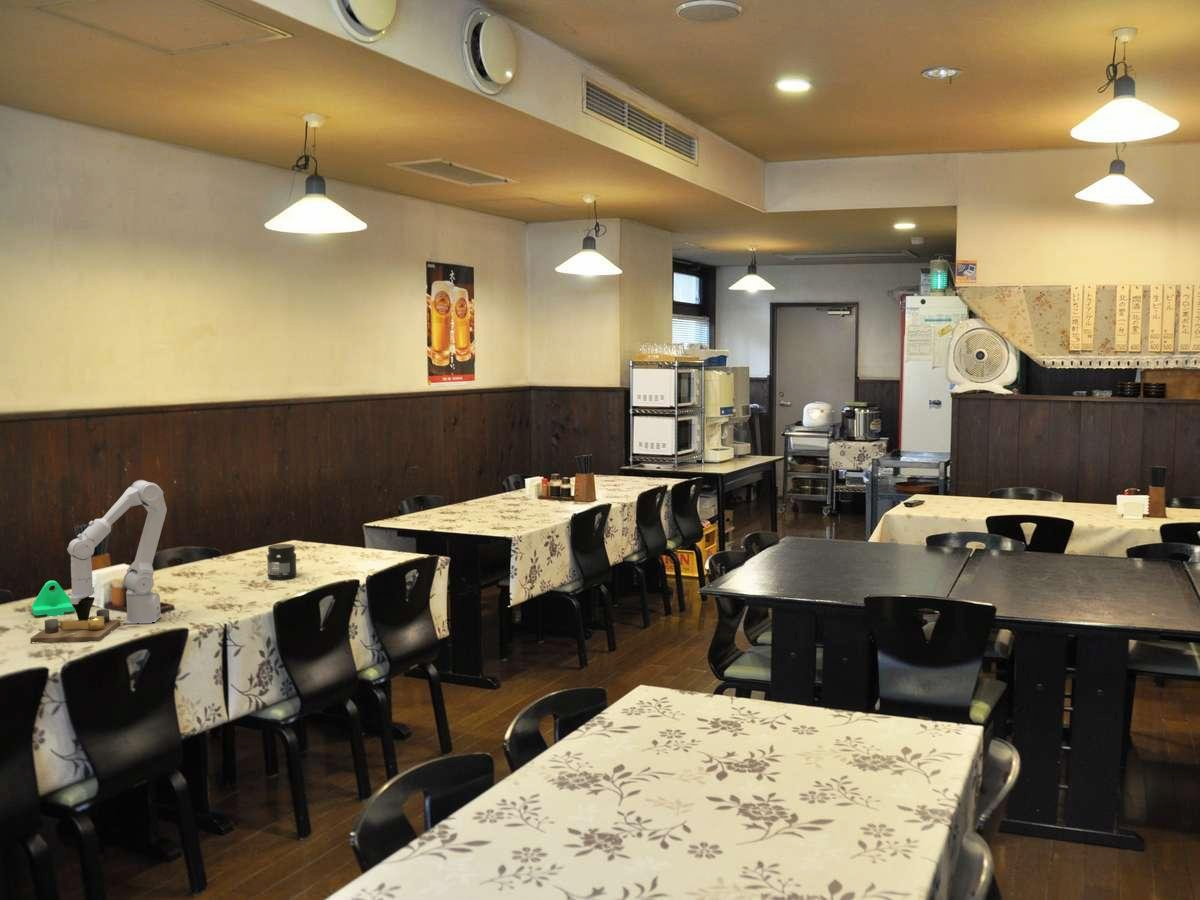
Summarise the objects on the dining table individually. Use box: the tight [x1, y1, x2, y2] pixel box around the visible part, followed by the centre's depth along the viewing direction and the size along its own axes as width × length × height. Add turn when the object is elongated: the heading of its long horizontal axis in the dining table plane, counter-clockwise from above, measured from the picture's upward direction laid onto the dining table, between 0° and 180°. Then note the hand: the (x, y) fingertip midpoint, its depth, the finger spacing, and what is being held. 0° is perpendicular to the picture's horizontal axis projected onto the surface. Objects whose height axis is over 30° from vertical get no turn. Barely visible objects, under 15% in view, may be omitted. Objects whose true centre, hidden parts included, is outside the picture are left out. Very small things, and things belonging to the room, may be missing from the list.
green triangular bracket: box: [31, 580, 76, 617], centre depth 348 cm, size 12×8×10 cm, turn 124°
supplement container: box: [266, 543, 298, 581], centre depth 403 cm, size 10×10×12 cm
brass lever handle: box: [60, 615, 105, 630], centre depth 323 cm, size 12×4×3 cm, turn 97°
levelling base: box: [30, 608, 121, 643], centre depth 324 cm, size 19×19×5 cm
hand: (83, 622), depth 329 cm, fingers closed
